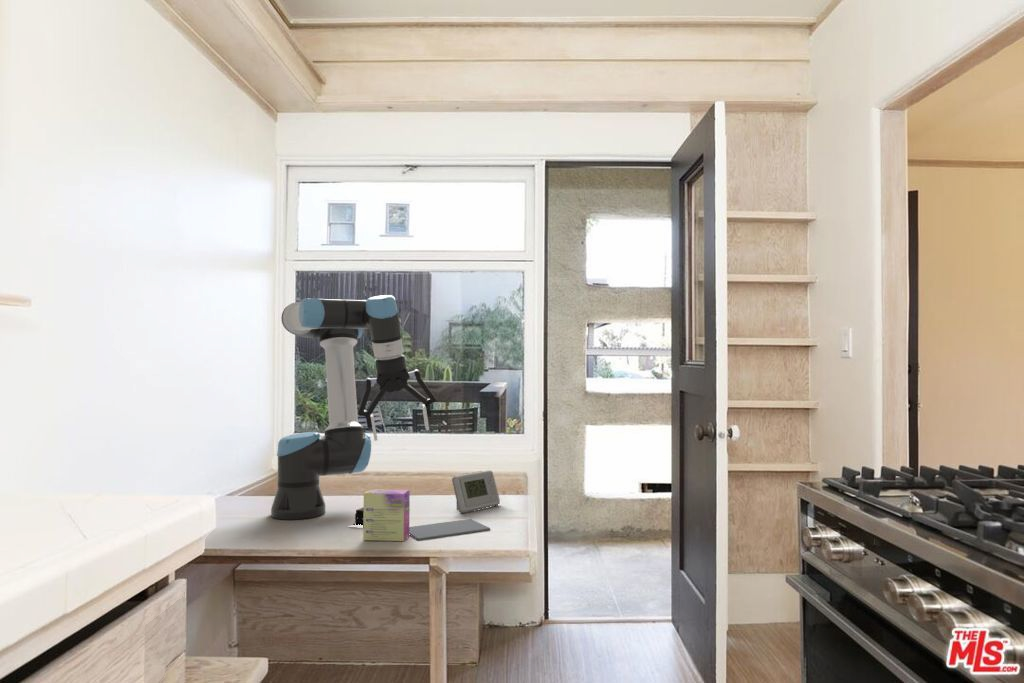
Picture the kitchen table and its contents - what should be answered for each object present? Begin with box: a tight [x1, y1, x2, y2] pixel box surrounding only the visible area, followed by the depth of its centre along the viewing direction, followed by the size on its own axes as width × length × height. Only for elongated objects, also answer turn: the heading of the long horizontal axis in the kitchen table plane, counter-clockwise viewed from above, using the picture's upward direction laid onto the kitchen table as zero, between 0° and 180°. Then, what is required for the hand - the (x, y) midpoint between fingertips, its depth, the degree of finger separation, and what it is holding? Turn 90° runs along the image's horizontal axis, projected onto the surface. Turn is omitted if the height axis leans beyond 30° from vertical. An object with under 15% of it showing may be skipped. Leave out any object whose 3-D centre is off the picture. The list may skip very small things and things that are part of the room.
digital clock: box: [451, 469, 501, 514], centre depth 200 cm, size 16×9×11 cm, turn 124°
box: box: [362, 488, 411, 542], centre depth 167 cm, size 10×6×12 cm, turn 84°
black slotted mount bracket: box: [352, 506, 364, 525], centre depth 182 cm, size 12×7×5 cm, turn 158°
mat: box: [409, 518, 491, 541], centre depth 174 cm, size 12×20×1 cm, turn 119°
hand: (401, 433), depth 175 cm, fingers open, 13 cm apart
